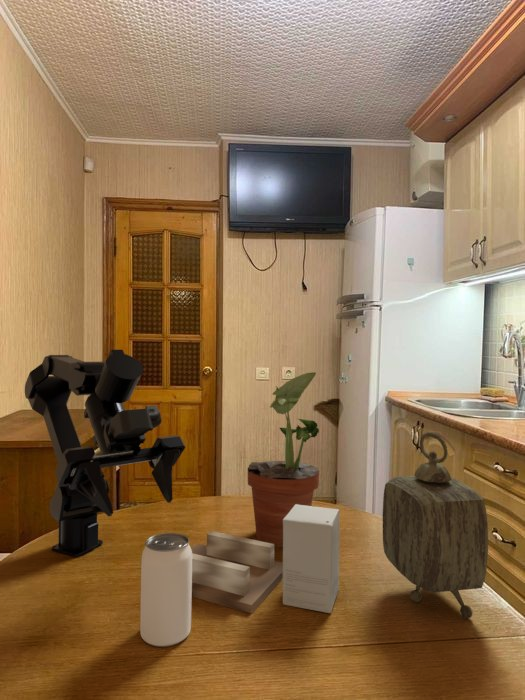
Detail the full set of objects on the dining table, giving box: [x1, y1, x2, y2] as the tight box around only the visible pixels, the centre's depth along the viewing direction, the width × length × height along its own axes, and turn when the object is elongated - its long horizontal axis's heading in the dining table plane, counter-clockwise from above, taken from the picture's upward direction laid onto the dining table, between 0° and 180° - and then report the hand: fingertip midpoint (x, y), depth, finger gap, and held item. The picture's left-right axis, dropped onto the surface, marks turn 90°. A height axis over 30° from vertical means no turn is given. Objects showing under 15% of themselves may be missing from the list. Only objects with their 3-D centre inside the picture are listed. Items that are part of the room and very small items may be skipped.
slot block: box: [190, 530, 283, 615], centre depth 77 cm, size 18×14×5 cm
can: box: [139, 532, 193, 648], centre depth 62 cm, size 6×6×12 cm
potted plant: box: [247, 372, 320, 547], centre depth 95 cm, size 16×15×35 cm
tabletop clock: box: [382, 431, 489, 619], centre depth 71 cm, size 14×9×25 cm, turn 12°
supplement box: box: [282, 504, 340, 614], centre depth 71 cm, size 7×7×13 cm
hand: (142, 507), depth 68 cm, fingers open, 9 cm apart
